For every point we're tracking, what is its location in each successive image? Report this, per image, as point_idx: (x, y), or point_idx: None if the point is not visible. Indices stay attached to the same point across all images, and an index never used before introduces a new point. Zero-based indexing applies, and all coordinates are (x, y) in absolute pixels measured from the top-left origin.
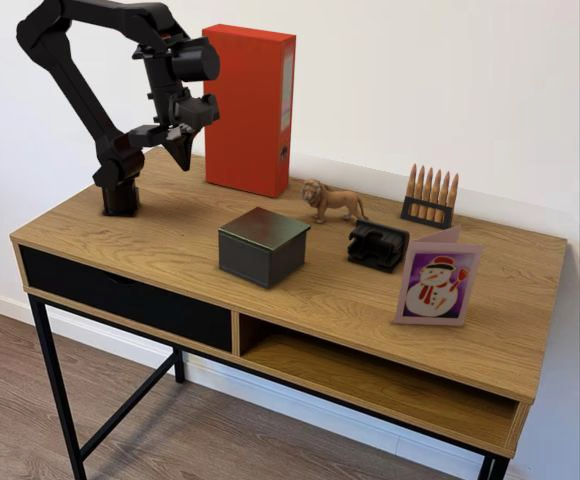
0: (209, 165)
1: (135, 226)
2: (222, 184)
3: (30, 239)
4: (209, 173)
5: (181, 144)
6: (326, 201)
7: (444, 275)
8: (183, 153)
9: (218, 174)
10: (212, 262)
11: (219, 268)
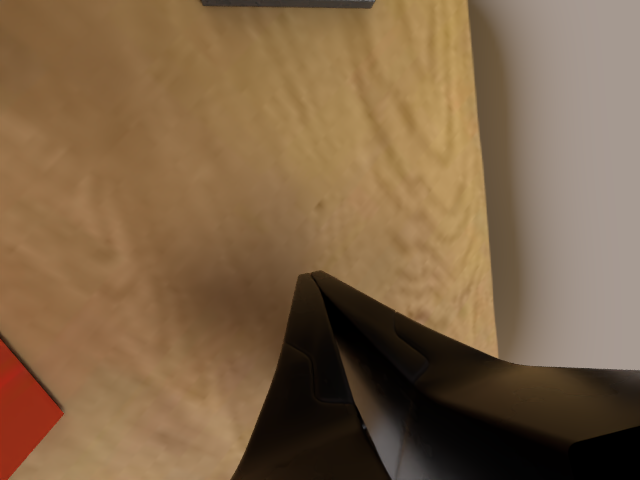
0: (2, 461)
1: None
2: (25, 374)
3: (497, 356)
4: (31, 431)
5: (472, 385)
6: None
7: None
8: (386, 325)
9: (4, 411)
10: (359, 47)
11: (371, 5)
